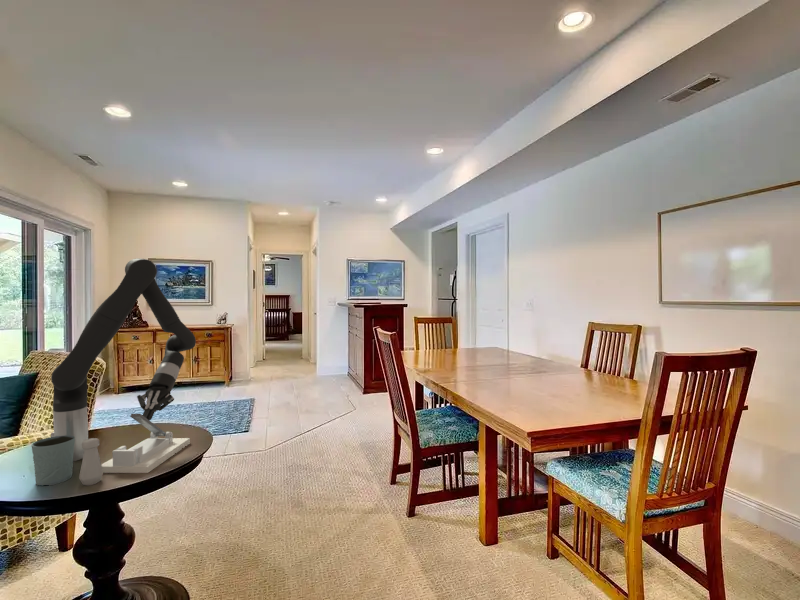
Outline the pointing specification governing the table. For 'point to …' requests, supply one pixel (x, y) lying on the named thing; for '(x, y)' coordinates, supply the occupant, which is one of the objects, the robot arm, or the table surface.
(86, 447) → the salt shaker
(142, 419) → the bar
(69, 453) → the pale green planter pot
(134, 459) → the stand
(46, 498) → the table surface
